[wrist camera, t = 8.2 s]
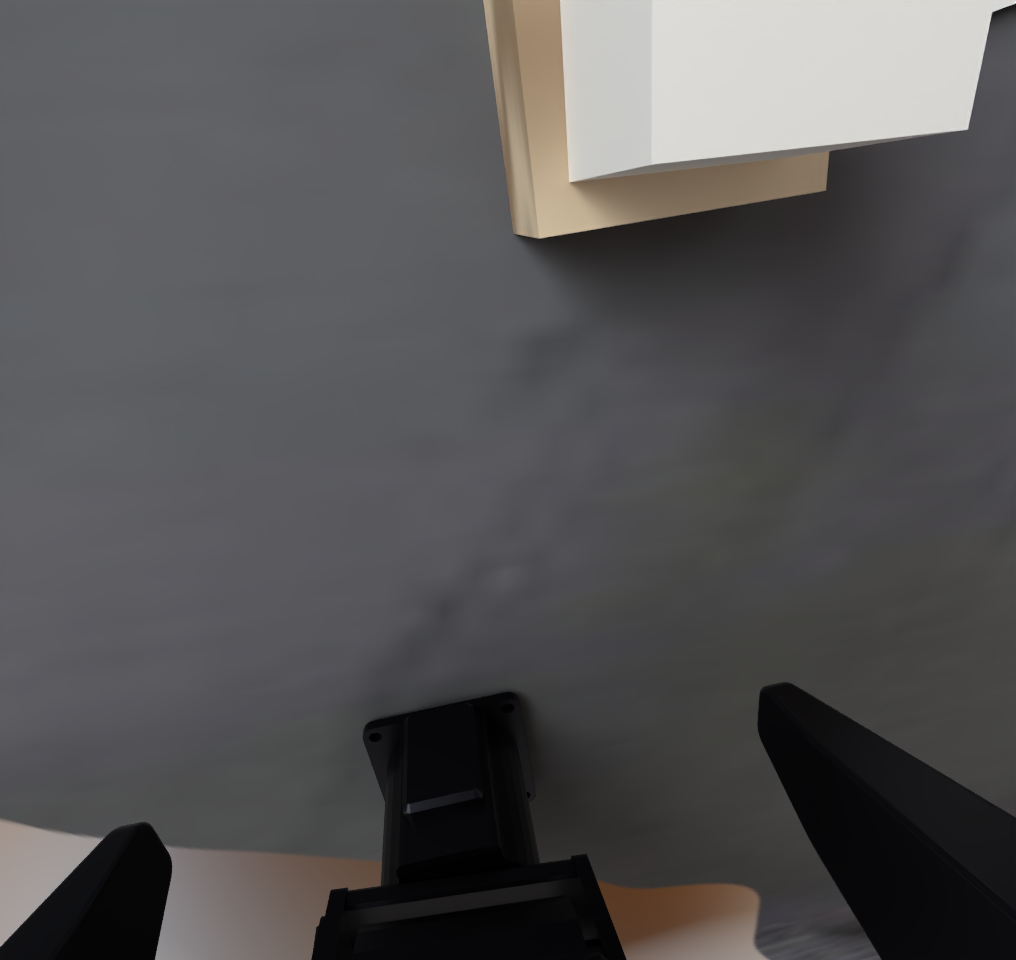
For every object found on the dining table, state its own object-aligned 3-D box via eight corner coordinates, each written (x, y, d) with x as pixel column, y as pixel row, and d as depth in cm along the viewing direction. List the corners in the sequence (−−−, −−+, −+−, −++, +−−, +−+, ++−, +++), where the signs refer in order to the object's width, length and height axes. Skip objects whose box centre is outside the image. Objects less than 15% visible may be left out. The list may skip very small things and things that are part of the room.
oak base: (740, 195, 17) (825, 190, 14) (513, 233, 17) (539, 238, 13) (750, -116, 14) (862, -228, 11) (472, -80, 14) (492, -184, 10)
